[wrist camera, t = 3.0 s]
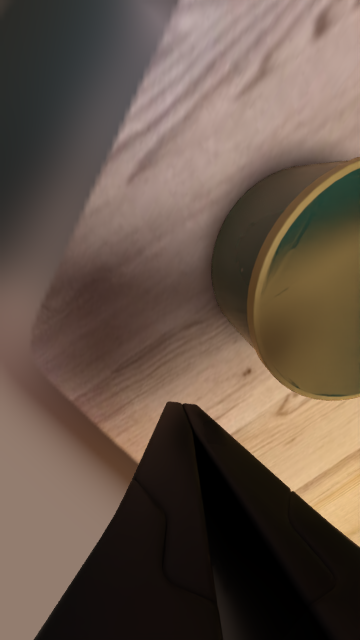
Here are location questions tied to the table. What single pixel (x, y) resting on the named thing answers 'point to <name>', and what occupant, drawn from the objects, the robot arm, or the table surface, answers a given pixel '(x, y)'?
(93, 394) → the table surface
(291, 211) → the tin
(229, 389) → the table surface
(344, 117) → the table surface
